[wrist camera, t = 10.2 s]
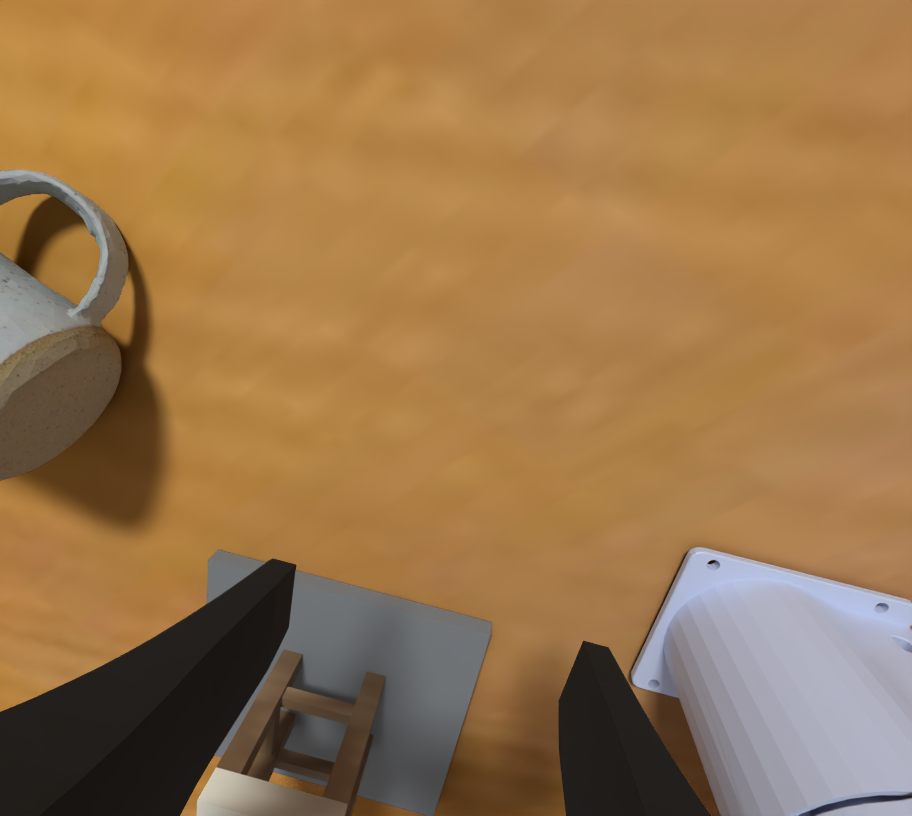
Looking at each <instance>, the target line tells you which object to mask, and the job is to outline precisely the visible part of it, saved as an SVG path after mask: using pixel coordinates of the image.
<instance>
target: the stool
mask: <svg viewBox="0 0 912 816" xmlns="http://www.w3.org/2000/svg"><path fill="white" fill-rule="evenodd" d="M302 655H303V654H300V653H296V652H292V651H289V650H285V649H284V650H283V652H282V653H281V655H280V657H279V659H278V660H277V662H276V664H275V666H274V667H273V669H272V671H271V673H270V674H269V676H268V678H267V680H266V681H265V683H264V685H263V687H262V688H261V690H260V692H259V694H258V695H257V697H256V699H255V701H254V702H253V704H252V706H251V708H250V709H249V711H248V713H247V715H246V716H245V718H244V720H243V721H242V723H241V725H240V727H239V728H238V730H237V732H236V734H235V735H234V737H233V739H232V741H231V742H230V744H229V746H228V748H227V749H226V751H225V753H224V755H223V756H222V758H221V760H220V762H219V763H218V765H217V767H216V769H215V770H214V772H213V774H212V776H211V777H210V779H209V781H208V783H207V784H206V786H205V788H204V790H203V791H202V793H201V795H200V797H199V798H198V800H197V816H351V815H352V812H353V808H354V805H355V801H356V798H357V794H358V791H359V787H360V784H361V780H362V777H363V773H364V770H365V767H366V763H367V760H368V756H369V753H370V749H371V745H372V740H373V736H374V735H372V734H370V732H371V729H372V725H373V722H374V719H375V715H376V712H377V709H378V705H379V702H380V699H381V695H382V692H383V688H384V683H385V678H386V676H383V675H379V674H375V673H372V672H368V671H367V672H366V675H365V678H364V681H363V684H362V687H361V689H360V692H359V695H358V698H357V701H356V704H351V703H347V702H344V701H340V700H336V699H332V698H329V697H325V696H321V695H318V694H314V693H310V692H306V691H303V690H299V689H295V688H292V685H293V683H294V681H295V679H296V677H297V675H298V673H299V671H300V669H301V663H302ZM281 707H284V708H287V709H291V710H295V711H298V712H302V713H306V714H309V715H313V716H317V717H320V718H324V719H328V720H332V721H335V722H339V723H343V724H346V725H348V727H347V729H346V732H345V735H344V738H343V741H342V744H341V747H340V749H339V752H338V755H337V758H336V761H335V763H334V762H331V761H327V760H324V759H320V758H316V757H313V756H309V755H305V754H302V753H298V752H295V751H291V750H287V749H284V747H285V745H286V742H287V740H288V738H289V736H290V734H291V731H292V729H293V727H294V721H295V714H294V713H291V712H287V711H283V710H281ZM274 768H278V769H281V770H285V771H288V772H292V773H296V774H299V775H303V776H306V777H310V778H314V779H317V780H321V781H324V782H328V784H327V787H326V789H325V792H324V795H323V797H321V796H317V795H314V794H310V793H307V792H303V791H300V790H296V789H292V788H289V787H285V786H282V785H278V784H274V783H271V782H268V781H269V779H270V777H271V775H272V773H273V771H274Z"/></svg>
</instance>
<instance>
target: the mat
mask: <svg viewBox="0 0 912 816" xmlns="http://www.w3.org/2000/svg"><path fill="white" fill-rule="evenodd" d="M265 563H266V562H262V561H258V560H255V559H251V558H247V557H243V556H240V555H236V554H232V553H228V552H225V551H221V550H218V551H217V552H216V553H215V554H214V555H213V556H212V557H211V558H210V559H209V560H208V585H207V604H208V603H209V602H211V601H212V600H213V599H215V598H216V597H218V596H219V595H221V594H222V593H224V592H225V591H227V590H228V589H230V588H231V587H232V586H234V585H235V584H237V583H238V582H240V581H241V580H242V579H244V578H245V577H247V576H248V575H249V574H251V573H252V572H253V571H255V570H256V569H258V568H259V567H260V566H262V565H263V564H265ZM491 625H492V622H488V621H485V620H481V619H477V618H473V617H470V616H466V615H462V614H458V613H455V612H451V611H447V610H443V609H439V608H436V607H432V606H428V605H424V604H421V603H417V602H413V601H409V600H405V599H402V598H398V597H394V596H390V595H387V594H383V593H379V592H375V591H372V590H368V589H364V588H360V587H356V586H353V585H349V584H345V583H341V582H338V581H334V580H330V579H326V578H323V577H319V576H315V575H311V574H307V573H304V572H300V571H295V579H294V588H293V596H292V605H291V614H290V622H289V628H288V630H287V632H286V635H285V637H284V639H283V641H282V643H281V645H280V647H279V649H278V651H277V653H276V655H275V657H274V659H273V661H272V663H271V665H270V667H269V669H268V671H267V672H266V674H265V675H264V677H263V679H262V680H261V682H260V683H259V685H258V687H257V688H256V690H255V691H254V693H253V695H252V696H251V698H250V699H249V701H248V703H247V704H246V706H245V707H244V709H243V710H242V712H241V714H240V715H239V717H238V718H237V720H236V722H235V723H234V725H233V726H232V728H231V729H230V731H229V733H228V734H227V736H226V737H225V739H224V740H223V742H222V744H221V745H220V747H219V748H218V750H217V752H216V753H215V756H219V757H222V756H223V755H224V753H225V751H226V749H227V748H228V746H229V744H230V742H231V741H232V739H233V737H234V735H235V734H236V732H237V730H238V728H239V727H240V725H241V723H242V721H243V720H244V718H245V716H246V715H247V713H248V711H249V709H250V708H251V706H252V704H253V702H254V701H255V699H256V697H257V695H258V694H259V692H260V690H261V688H262V687H263V685H264V683H265V681H266V680H267V678H268V676H269V674H270V673H271V671H272V669H273V667H274V666H275V664H276V662H277V660H278V659H279V657H280V655H281V653H282V652H283V650H284V649H285V650H289V651H292V652H296V653H300V654H303V655H302V663H301V669H300V671H299V673H298V675H297V677H296V679H295V681H294V683H293V685H292V688H295V689H299V690H303V691H306V692H310V693H314V694H318V695H321V696H325V697H329V698H332V699H336V700H340V701H344V702H347V703H351V704H356V701H357V698H358V695H359V692H360V689H361V687H362V684H363V681H364V678H365V675H366V672H367V671H368V672H372V673H375V674H379V675H383V676H386V678H385V683H384V688H383V692H382V695H381V699H380V702H379V705H378V709H377V712H376V715H375V719H374V722H373V725H372V729H371V732H370V734H372V735H374V736H373V740H372V745H371V749H370V753H369V756H368V760H367V763H366V767H365V770H364V773H363V777H362V780H361V784H360V787H359V791H358V794H357V796H360V797H363V798H367V799H370V800H374V801H377V802H381V803H384V804H388V805H391V806H395V807H398V808H402V809H405V810H409V811H412V812H416V813H419V814H423V815H426V816H434V813H435V810H436V807H437V804H438V800H439V797H440V794H441V791H442V788H443V785H444V781H445V778H446V775H447V772H448V769H449V766H450V763H451V759H452V756H453V753H454V750H455V747H456V744H457V740H458V737H459V734H460V731H461V728H462V725H463V721H464V718H465V715H466V712H467V709H468V706H469V702H470V699H471V696H472V693H473V690H474V687H475V684H476V680H477V677H478V674H479V671H480V668H481V665H482V661H483V658H484V655H485V652H486V649H487V646H488V642H489V639H490V636H491ZM281 710H283V711H287V712H291V713H294V714H295V721H294V727H293V729H292V731H291V734H290V736H289V738H288V740H287V742H286V745H285V747H284V749H287V750H291V751H295V752H298V753H302V754H305V755H309V756H313V757H316V758H320V759H324V760H327V761H331V762H334V763H335V761H336V758H337V755H338V752H339V749H340V747H341V744H342V741H343V738H344V735H345V732H346V729H347V727H348V725H346V724H343V723H339V722H335V721H332V720H328V719H324V718H320V717H317V716H313V715H309V714H306V713H302V712H298V711H295V710H291V709H287V708H284V707H281ZM273 772H275V773H279V774H282V775H286V776H289V777H293V778H296V779H300V780H303V781H307V782H310V783H314V784H317V785H321V786H324V787H327V784H328V782H324V781H321V780H317V779H314V778H310V777H306V776H303V775H299V774H296V773H292V772H288V771H285V770H281V769H278V768H274V771H273Z"/></svg>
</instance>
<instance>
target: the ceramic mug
mask: <svg viewBox="0 0 912 816" xmlns="http://www.w3.org/2000/svg"><path fill="white" fill-rule="evenodd" d="M43 193H44V194H48V195H50V196H53V197H55V198H57V199H59V200H60V201H62V202H63V203H64V204H66V205H67V206H68V207H70V208H71V209H72V210H73V211H74V212H75V213H77V214H78V215H79V216H80V217H82V218H83V220H84V222H85V224H86V226H87V228H88V230H89V232H90V234H91V235H92V236H94V237H95V238H96V242H97V244H98V245H99V247H100V252H101V256H100V262H99V266H98V270H99V271H98V273H97V275H96V277H95V279H94V280H93V282H92V284H91V286H90V289H89V291H88V294H86V295H85V296H84V297H83V298H82V300H81V302H80V304H79V305H78V306H77V305H76V304H74V303H72V302H71V301H70V300H68V299H67V298H66V297H64V296H62V295H60V294H58V293H57V292H55V291H53V290H52V289H50V288H49V287H47V286H46V285H44V284H43V283H41V282H40V281H38V280H37V279H35V278H34V277H32V276H31V275H30V274H29V273H27V272H26V271H25V270H23V269H22V268H20V267H19V266H18V265H17V264H15V263H14V262H12V261H11V260H10V259H9V258H7V257H6V256H4V255H3V254H2V253H0V481H1V480H5V479H8V478H12V477H16V476H18V475H21V474H24V473H27V472H30V471H32V470H34V469H36V468H38V467H40V466H41V465H43V464H45V463H47V462H48V461H50V460H51V459H53V458H55V457H56V456H58V455H59V454H61V453H62V452H63V451H65V450H66V449H67V448H68V447H70V446H71V445H72V444H73V443H75V442H76V441H77V440H78V439H79V438H80V437H81V436H82V435H83V434H84V433H85V432H86V431H87V430H88V429H89V428H90V427H91V426H92V425H93V424H94V423H95V421H96V420H97V419H98V418H99V417H100V416H101V414H102V413H103V411H104V410H105V408H106V407H107V405H108V403H109V402H110V400H111V399H112V397H113V395H114V393H115V391H116V389H117V386H118V383H119V379H120V375H121V371H122V366H121V354H120V349H119V347H118V345H117V343H116V341H115V340H114V339H113V338H112V337H111V336H110V335H109V334H108V333H107V332H106V331H105V329H104V328H103V327H102V324H101V320H102V319H104V318H105V316H106V315H107V313H108V312H110V311H111V309H112V308H113V307H114V306H115V304H116V303H117V301H118V300H119V297H120V294H121V291H122V288H123V286H124V285H125V281H126V276H127V273H128V253H127V249H126V245H125V242H124V240H123V238H122V235H121V233H120V231H119V230H118V228H117V226H116V225H115V223H114V221H113V220H112V219H111V218H110V217H109V216H108V214H107V213H106V212H104V211H103V210H102V209H101V208H100V207H99V206H98V205H96V204H95V203H94V202H93V201H91V200H90V199H88V198H87V197H85V196H84V195H82V194H81V193H79V192H78V191H76V190H75V189H73V188H72V187H71V186H69V185H68V184H66V183H64V182H62V181H60V180H59V179H57V178H55V177H53V176H49V175H47V174H45V173H40V172H35V171H30V170H8V171H0V205H2V204H4V203H6V202H8V201H10V200H12V199H15V198H17V197H21V196H26V195H31V194H43Z"/></svg>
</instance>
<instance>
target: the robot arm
mask: <svg viewBox="0 0 912 816" xmlns="http://www.w3.org/2000/svg"><path fill="white" fill-rule="evenodd" d="M711 560H716V561H715V562H714V563H713V564H707V563H708V562H709V561H711ZM295 571H296V565H295V564H291V563H288V562H284V561H280V560H276V559H271V560H269V561H267V562H266V563H265V564H263V565H262V566H260V567H259V568H258V569H256V570H255V571H253V572H252V573H251V574H249V575H248V576H247V577H245V578H244V579H242V580H241V581H240V582H238V583H237V584H235V585H234V586H232V587H231V588H230V589H228V590H227V591H225V592H224V593H222V594H221V595H219V596H218V597H216V598H215V599H213V600H212V601H211V602H209V603H208V604H206V605H205V606H203V607H202V608H200V609H199V610H197V611H196V612H194V613H192V614H191V615H189V616H188V617H186V618H185V619H183V620H181V621H180V622H178V623H176V624H175V625H173V626H172V627H170V628H168V629H167V630H165V631H163V632H162V633H160V634H158V635H157V636H155V637H154V638H152V639H150V640H148V641H147V642H145V643H143V644H141V645H140V646H138V647H136V648H134V649H133V650H131V651H129V652H127V653H125V654H123V655H122V656H120V657H118V658H116V659H114V660H112V661H110V662H108V663H106V664H104V665H103V666H101V667H99V668H97V669H95V670H93V671H91V672H88V673H86V674H84V675H82V676H80V677H78V678H76V679H74V680H72V681H70V682H68V683H65V684H63V685H61V686H59V687H57V688H55V689H52V690H50V691H48V692H46V693H44V694H42V695H39V696H37V697H35V698H33V699H30V700H28V701H26V702H23V703H21V704H19V705H16V706H14V707H11V708H9V709H6V710H4V711H2V712H0V816H180V815H181V813H182V811H183V809H184V807H185V805H186V803H187V801H188V799H189V797H190V796H191V794H192V792H193V790H194V788H195V786H196V785H197V783H198V781H199V779H200V778H201V776H202V774H203V773H204V771H205V769H206V768H207V766H208V764H209V763H210V761H211V759H212V758H213V756H214V755H215V753H216V752H217V750H218V748H219V747H220V745H221V744H222V742H223V740H224V739H225V737H226V736H227V734H228V733H229V731H230V729H231V728H232V726H233V725H234V723H235V722H236V720H237V718H238V717H239V715H240V714H241V712H242V710H243V709H244V707H245V706H246V704H247V703H248V701H249V699H250V698H251V696H252V695H253V693H254V691H255V690H256V688H257V687H258V685H259V683H260V682H261V680H262V679H263V677H264V675H265V674H266V672H267V671H268V669H269V667H270V665H271V663H272V661H273V659H274V657H275V655H276V653H277V651H278V649H279V647H280V645H281V643H282V641H283V639H284V637H285V635H286V632H287V630H288V628H289V622H290V614H291V605H292V596H293V588H294V579H295ZM877 604H879V605H878V606H876V605H877ZM911 625H912V602H911V601H909V600H907V599H904V598H900V597H896V596H892V595H888V594H884V593H880V592H876V591H873V590H869V589H865V588H861V587H857V586H853V585H849V584H845V583H841V582H837V581H833V580H829V579H825V578H821V577H817V576H813V575H809V574H806V573H802V572H798V571H794V570H790V569H786V568H782V567H778V566H774V565H770V564H766V563H762V562H758V561H754V560H750V559H746V558H742V557H738V556H735V555H731V554H727V553H723V552H719V551H715V550H711V549H707V548H703V547H697V548H693V549H691V550H690V551H689V552H688V553H687V555H686V557H685V559H684V561H683V563H682V566H681V568H680V570H679V572H678V574H677V576H676V578H675V580H674V583H673V585H672V587H671V589H670V591H669V593H668V595H667V597H666V599H665V602H664V604H663V606H662V608H661V610H660V612H659V614H658V616H657V619H656V621H655V623H654V625H653V627H652V629H651V631H650V633H649V635H648V638H647V640H646V642H645V644H644V646H643V648H642V650H641V652H640V655H639V657H638V659H637V661H636V663H635V665H634V667H633V669H632V671H631V678H632V681H633V684H634V685H635V686H637V687H639V688H643V689H646V690H650V691H654V692H658V693H661V694H665V695H669V696H673V697H676V698H679V700H680V703H681V705H682V708H683V711H684V714H685V717H686V720H687V722H688V725H689V728H690V731H691V734H692V737H693V739H694V742H695V745H696V748H697V751H698V754H699V756H700V759H701V762H702V765H703V768H704V771H705V773H706V776H707V779H708V782H709V785H710V788H711V790H712V793H713V796H714V799H715V802H716V804H717V807H718V810H719V813H720V816H912V630H911V629H910V626H911ZM650 680H653V681H650ZM559 754H560V764H561V773H562V782H563V791H564V800H565V809H566V816H711V815H710V814H709V813H708V811H707V810H706V808H705V807H704V806H703V804H702V803H701V801H700V800H699V798H698V797H697V795H696V794H695V792H694V791H693V789H692V788H691V786H690V785H689V783H688V782H687V780H686V779H685V777H684V776H683V774H682V773H681V771H680V770H679V768H678V767H677V765H676V763H675V762H674V760H673V759H672V757H671V755H670V754H669V752H668V751H667V749H666V747H665V746H664V744H663V742H662V741H661V739H660V737H659V736H658V734H657V732H656V731H655V729H654V727H653V726H652V724H651V722H650V721H649V719H648V717H647V715H646V714H645V712H644V710H643V708H642V707H641V705H640V703H639V701H638V700H637V698H636V696H635V694H634V692H633V691H632V689H631V687H630V685H629V683H628V682H627V680H626V678H625V676H624V674H623V673H622V671H621V669H620V667H619V665H618V664H617V662H616V660H615V658H614V656H613V655H612V653H611V651H610V649H609V648H608V647H605V646H601V645H597V644H594V643H590V642H586V641H583V643H582V645H581V648H580V650H579V652H578V655H577V657H576V660H575V662H574V665H573V667H572V670H571V672H570V674H569V677H568V679H567V682H566V684H565V687H564V689H563V691H562V694H561V696H560V699H559Z"/></svg>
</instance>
